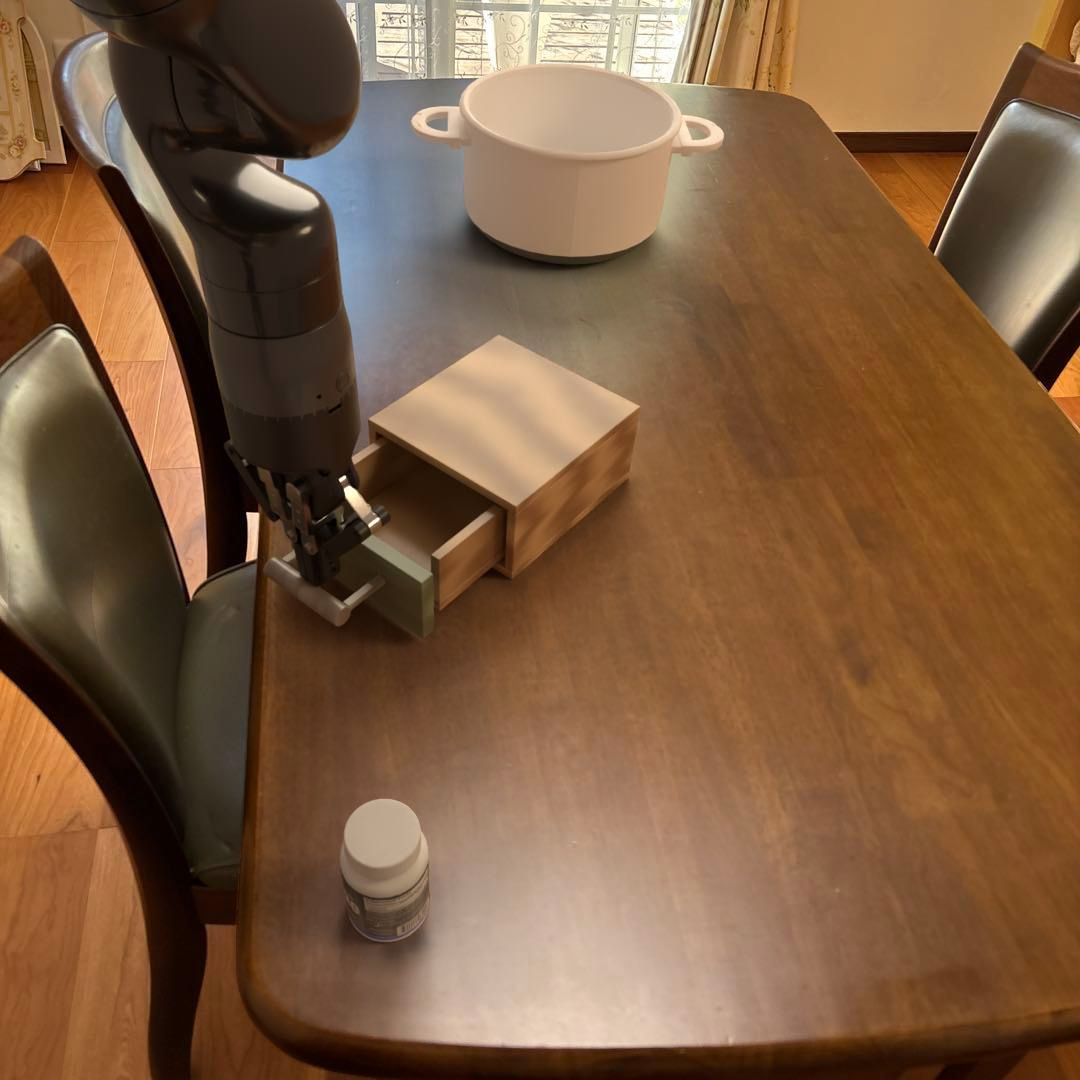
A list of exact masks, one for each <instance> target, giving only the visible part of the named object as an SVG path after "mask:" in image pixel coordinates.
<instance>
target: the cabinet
mask: <svg viewBox="0 0 1080 1080" xmlns="http://www.w3.org/2000/svg"><path fill="white" fill-rule="evenodd" d="M640 411H641V405H638V404H636V403H635V402H633V401H630V400H628V399H627V398H625V397H623V396H620V395H619V394H617V393H615V392H614V391H611V390H609V389H607V388H605V387H603V386H601V385H599V384H597V383H595V382H593V381H591V380H589V379H588V378H586V377H583V376H581V375H579V374H578V373H576V372H574V371H572V370H570V369H568V368H566V367H564V366H562V365H560V364H559V363H556V362H554V361H552V360H551V359H548V358H546V357H545V356H542V355H540V354H538V353H536V352H534V351H533V350H531V349H528V348H526V347H525V346H522V345H521V344H519V343H517V342H515V341H513V340H511V339H509V338H507V337H505V336H503V335H501V334H498V335H496V336H494V337H492V338H491V339H489V340H487V341H486V342H485V343H483V344H482V345H480V346H479V347H477V348H476V349H474V350H472V351H471V352H469V353H468V354H466V355H464V356H463V357H462V358H460V359H459V360H457V361H455V362H454V363H452V364H450V365H449V366H448V367H446V368H444V369H443V370H441V371H440V372H438V373H437V374H435V375H434V376H432V377H431V378H429V379H428V380H426V381H424V382H422V384H420V385H418V386H416V387H415V388H414V389H412V390H410V391H409V392H407V393H406V394H405V395H403V396H401V397H400V398H398V399H397V400H395V401H394V402H391V403H390V404H388V405H387V406H385V407H384V408H383V409H381V410H380V411H378V412H376V413H375V414H373V415H372V416H370V417H368V419H367V427H368V439H369V440H368V441H369V445H371V444H372V443H374V442H375V441H377V440H378V439H380V438H381V437H383V436H385V437H386V438H388V439H390V440H391V441H393V442H395V443H396V444H398V445H400V446H401V447H403V448H405V449H406V450H408V451H410V452H411V453H413V454H415V455H416V456H418V457H420V458H421V459H423V460H425V461H426V462H428V463H430V464H431V465H433V466H435V467H436V468H438V469H440V470H441V471H443V472H445V473H446V474H448V475H450V476H451V477H453V478H455V479H456V480H458V481H460V482H462V483H463V484H465V485H467V486H468V487H470V488H472V489H473V490H475V491H477V492H478V493H480V494H482V495H483V496H485V497H487V498H488V499H490V500H492V501H493V502H495V503H497V504H498V505H500V506H502V507H503V508H505V509H507V510H508V513H507V532H506V551H505V556H504V557H503V558H502V559H501V560H500V561H498V562H497V563H496V564H495V565H494V566H492V567H491V569H493V570H494V571H497V572H498V573H500V574H502V575H503V576H504V577H507V578H508V579H510V580H511V581H513V580H514V579H515V578H516V577H517V576H519V574H521V573H522V572H523V571H525V569H526V568H527V567H529V566H530V565H531V564H532V563H533V562H534V561H536V560H537V559H538V558H539V557H540V556H541V555H542V554H543V553H545V552H546V551H547V550H548V549H550V547H551V546H553V544H555V543H556V542H558V540H559V539H560V538H562V537H563V536H564V535H565V534H566V533H567V532H568V531H570V530H571V529H572V528H574V526H575V525H577V524H578V523H579V522H580V521H582V519H584V518H585V517H586V516H587V515H588V514H590V513H591V511H593V510H594V509H595V508H596V507H597V506H598V505H600V504H601V503H602V502H603V501H604V500H605V499H606V498H608V497H609V496H610V495H611V494H612V493H614V492H615V491H616V490H617V489H618V488H619V487H621V486H622V484H624V483H625V482H626V481H627V480H628V479H629V478H630V473H631V467H632V466H631V465H632V460H633V459H632V458H633V453H634V448H635V447H634V446H635V442H636V434H637V429H638V423H639V416H640Z"/></svg>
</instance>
